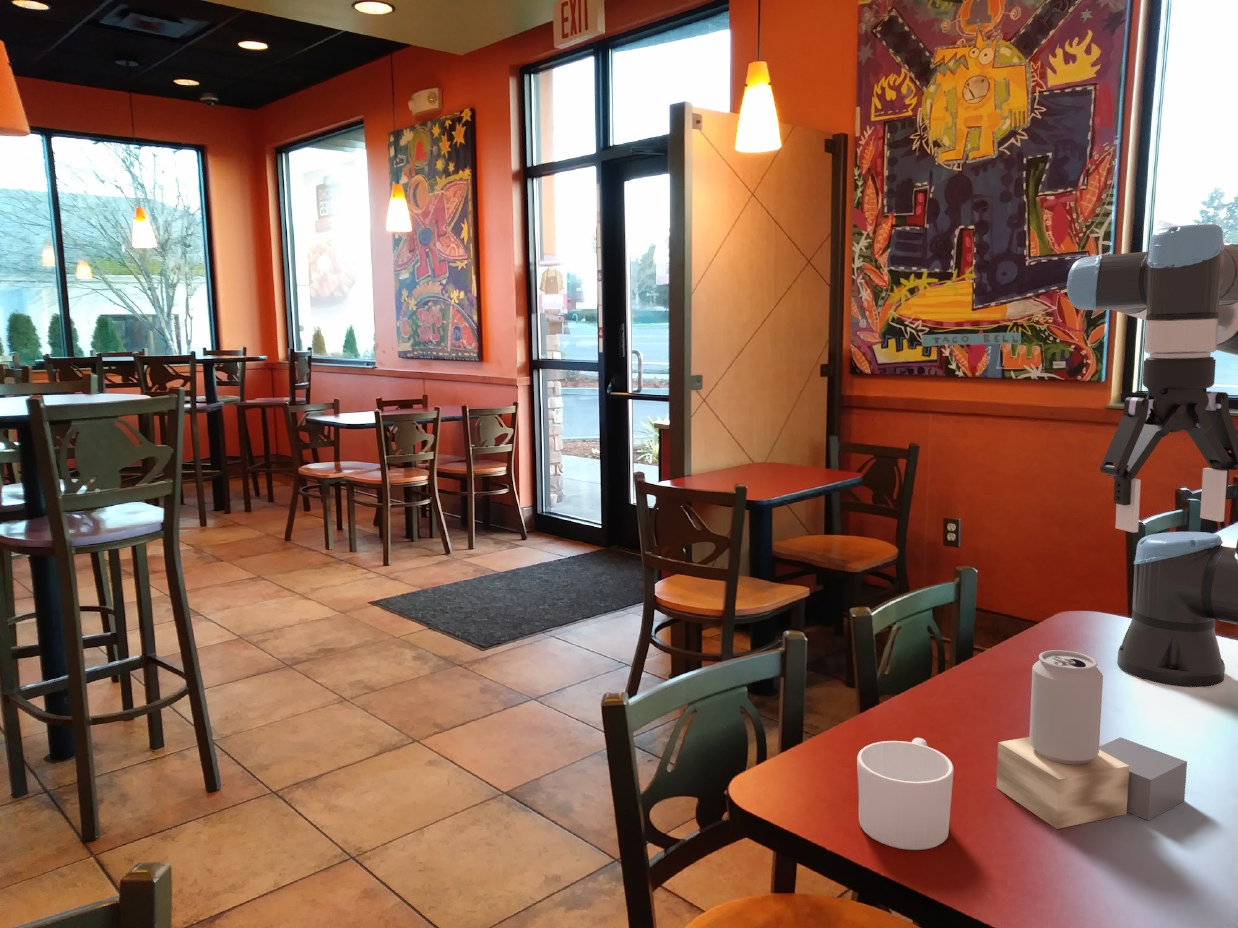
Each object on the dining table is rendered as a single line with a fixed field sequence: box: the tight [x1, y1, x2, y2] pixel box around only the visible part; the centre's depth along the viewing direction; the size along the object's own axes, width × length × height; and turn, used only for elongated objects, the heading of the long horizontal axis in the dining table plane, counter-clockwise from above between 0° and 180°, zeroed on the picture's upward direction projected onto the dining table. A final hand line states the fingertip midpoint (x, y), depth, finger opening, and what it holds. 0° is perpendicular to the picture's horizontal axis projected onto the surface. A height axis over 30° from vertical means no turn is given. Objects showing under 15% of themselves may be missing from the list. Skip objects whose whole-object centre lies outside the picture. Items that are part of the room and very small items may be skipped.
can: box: [1029, 649, 1104, 764], centre depth 107 cm, size 8×8×12 cm
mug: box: [856, 737, 955, 851], centre depth 104 cm, size 13×10×8 cm
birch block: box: [995, 736, 1129, 830], centre depth 108 cm, size 10×10×6 cm
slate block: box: [1099, 736, 1188, 821], centre depth 108 cm, size 8×8×5 cm
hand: (1169, 525), depth 113 cm, fingers open, 13 cm apart
